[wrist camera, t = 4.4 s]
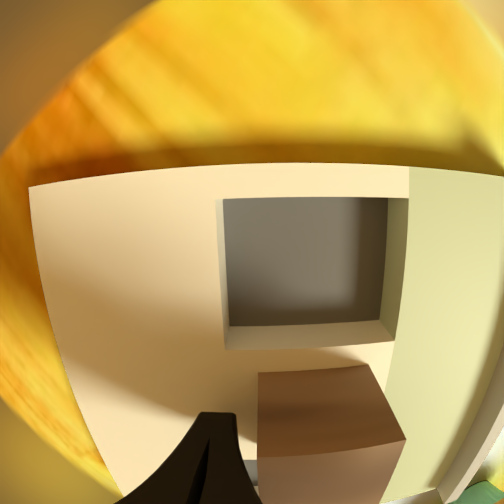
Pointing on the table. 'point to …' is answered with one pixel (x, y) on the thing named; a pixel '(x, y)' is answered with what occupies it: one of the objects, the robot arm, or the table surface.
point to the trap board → (278, 302)
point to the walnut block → (325, 437)
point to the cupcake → (481, 495)
